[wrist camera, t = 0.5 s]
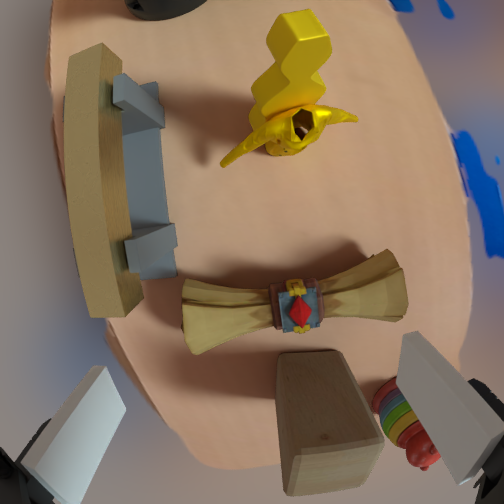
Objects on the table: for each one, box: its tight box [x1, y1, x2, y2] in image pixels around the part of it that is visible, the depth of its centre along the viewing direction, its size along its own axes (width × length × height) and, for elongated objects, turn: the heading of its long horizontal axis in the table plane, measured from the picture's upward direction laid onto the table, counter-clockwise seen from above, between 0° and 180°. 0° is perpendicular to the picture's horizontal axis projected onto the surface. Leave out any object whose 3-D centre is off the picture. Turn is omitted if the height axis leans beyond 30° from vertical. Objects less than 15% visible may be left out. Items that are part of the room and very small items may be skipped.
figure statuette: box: [220, 9, 358, 168], centre depth 23 cm, size 18×8×22 cm, turn 112°
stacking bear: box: [372, 377, 441, 471], centre depth 34 cm, size 11×10×18 cm
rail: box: [64, 43, 144, 318], centre depth 23 cm, size 26×4×5 cm, turn 6°
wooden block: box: [275, 351, 385, 496], centre depth 31 cm, size 10×10×20 cm
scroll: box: [181, 249, 408, 355], centre depth 33 cm, size 27×10×10 cm, turn 99°
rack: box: [63, 73, 178, 280], centre depth 29 cm, size 27×7×13 cm, turn 6°
